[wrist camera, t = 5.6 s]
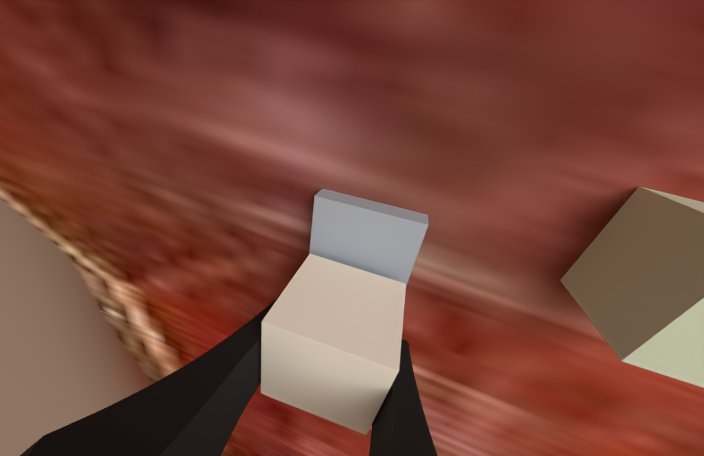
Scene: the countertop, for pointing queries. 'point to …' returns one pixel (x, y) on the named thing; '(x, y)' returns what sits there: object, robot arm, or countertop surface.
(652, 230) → the pale green cube
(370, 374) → the brick
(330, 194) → the base brick
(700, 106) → the countertop surface
